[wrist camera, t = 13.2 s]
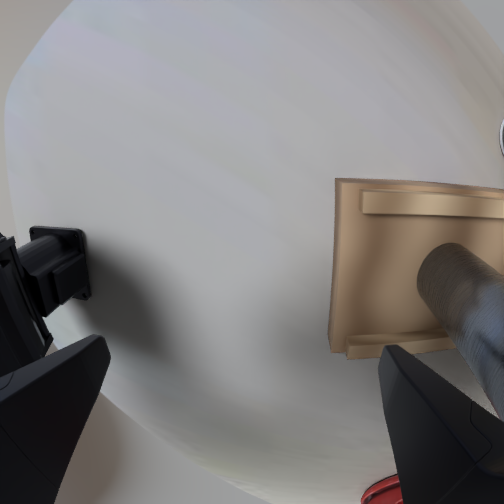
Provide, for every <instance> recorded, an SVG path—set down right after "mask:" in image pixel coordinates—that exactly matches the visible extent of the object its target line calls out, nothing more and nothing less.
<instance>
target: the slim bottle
mask: <svg viewBox="0 0 504 504" xmlns="http://www.w3.org/2000/svg"><path fill="white" fill-rule="evenodd" d="M417 290H418V293H419V295H420V297H421V298H422V300H423V301H424V302H425V304H426V305H427V306H428V308H429V309H430V310H431V312H432V313H433V315H434V316H435V317H436V319H437V320H438V321H439V323H440V324H441V326H442V327H443V329H444V330H445V331H446V333H447V334H448V336H449V337H450V339H451V340H452V342H453V343H454V344H455V346H456V347H457V349H458V350H459V352H460V353H461V355H462V356H463V358H464V360H465V361H466V363H467V364H468V366H469V367H470V369H471V370H472V372H473V374H474V375H475V377H476V378H477V380H478V382H479V383H480V385H481V387H482V388H483V390H484V392H485V393H486V395H487V397H488V399H489V400H490V402H491V404H492V406H493V407H494V409H495V411H496V413H497V415H498V416H499V418H500V420H502V421H503V422H504V276H503V275H502V274H500V273H499V272H498V271H497V270H495V269H494V268H493V267H491V266H490V265H489V264H487V263H486V262H485V261H483V260H482V259H481V258H479V257H478V256H476V255H475V254H474V253H472V252H471V251H469V250H468V249H467V248H465V247H464V246H462V245H460V244H458V243H453V242H451V243H445V244H442V245H440V246H438V247H436V248H435V249H433V250H432V251H431V252H430V253H429V254H428V255H427V256H426V258H425V259H424V261H423V262H422V264H421V266H420V268H419V271H418V275H417Z"/></svg>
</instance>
